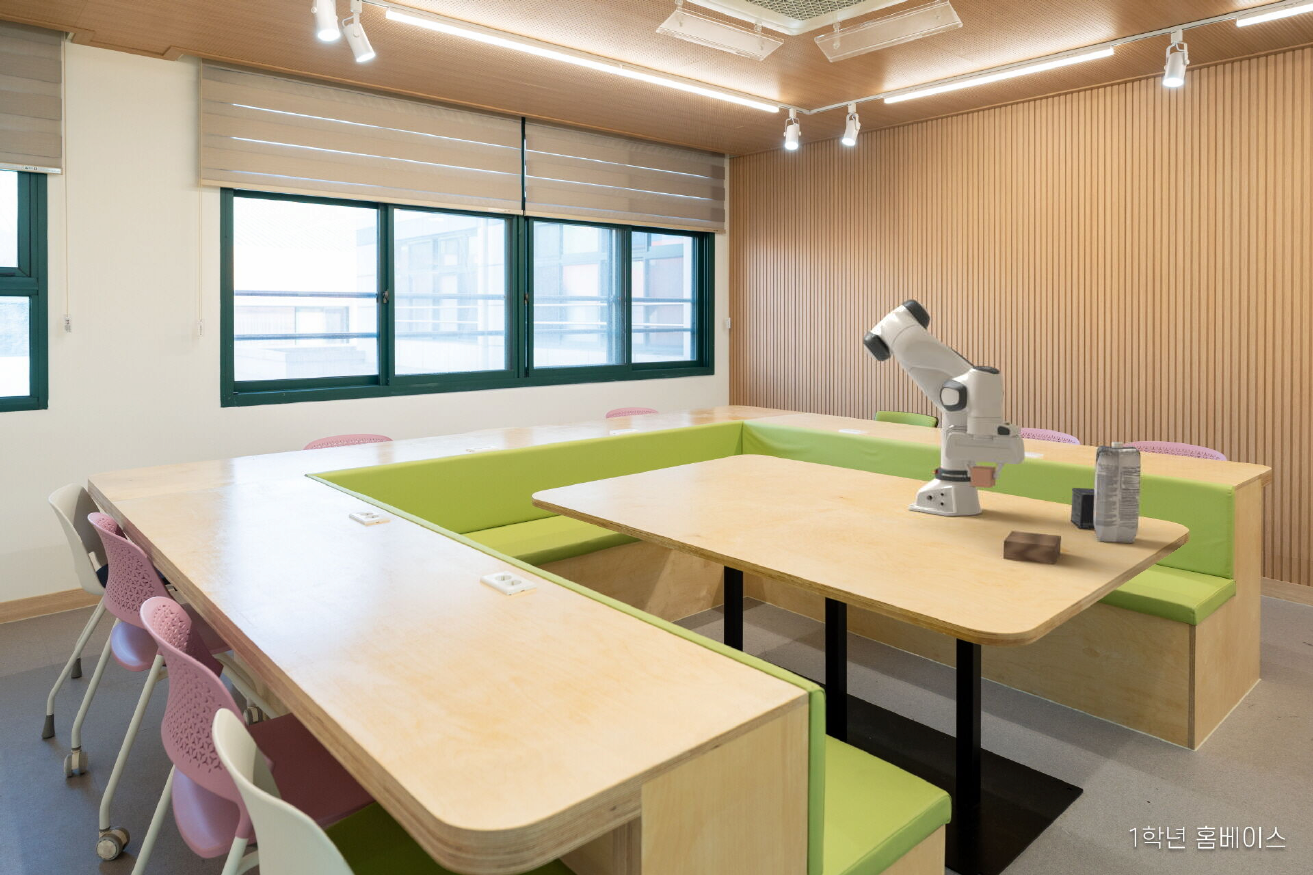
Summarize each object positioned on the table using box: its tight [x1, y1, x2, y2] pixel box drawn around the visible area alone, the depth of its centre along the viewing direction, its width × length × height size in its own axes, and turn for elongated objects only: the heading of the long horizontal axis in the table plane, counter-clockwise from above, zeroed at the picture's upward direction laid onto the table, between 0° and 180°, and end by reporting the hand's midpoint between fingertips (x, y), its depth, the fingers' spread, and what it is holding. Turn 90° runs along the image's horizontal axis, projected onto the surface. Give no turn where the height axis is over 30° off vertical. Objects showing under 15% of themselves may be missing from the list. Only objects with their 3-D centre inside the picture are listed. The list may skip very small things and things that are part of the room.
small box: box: [1070, 487, 1095, 530], centre depth 254 cm, size 11×6×10 cm, turn 168°
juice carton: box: [1093, 441, 1142, 544], centre depth 236 cm, size 9×10×27 cm
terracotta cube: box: [971, 464, 997, 489], centre depth 232 cm, size 5×5×5 cm
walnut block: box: [1002, 530, 1062, 565], centre depth 223 cm, size 12×12×5 cm
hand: (983, 477), depth 232 cm, fingers closed on terracotta cube, 5 cm apart
